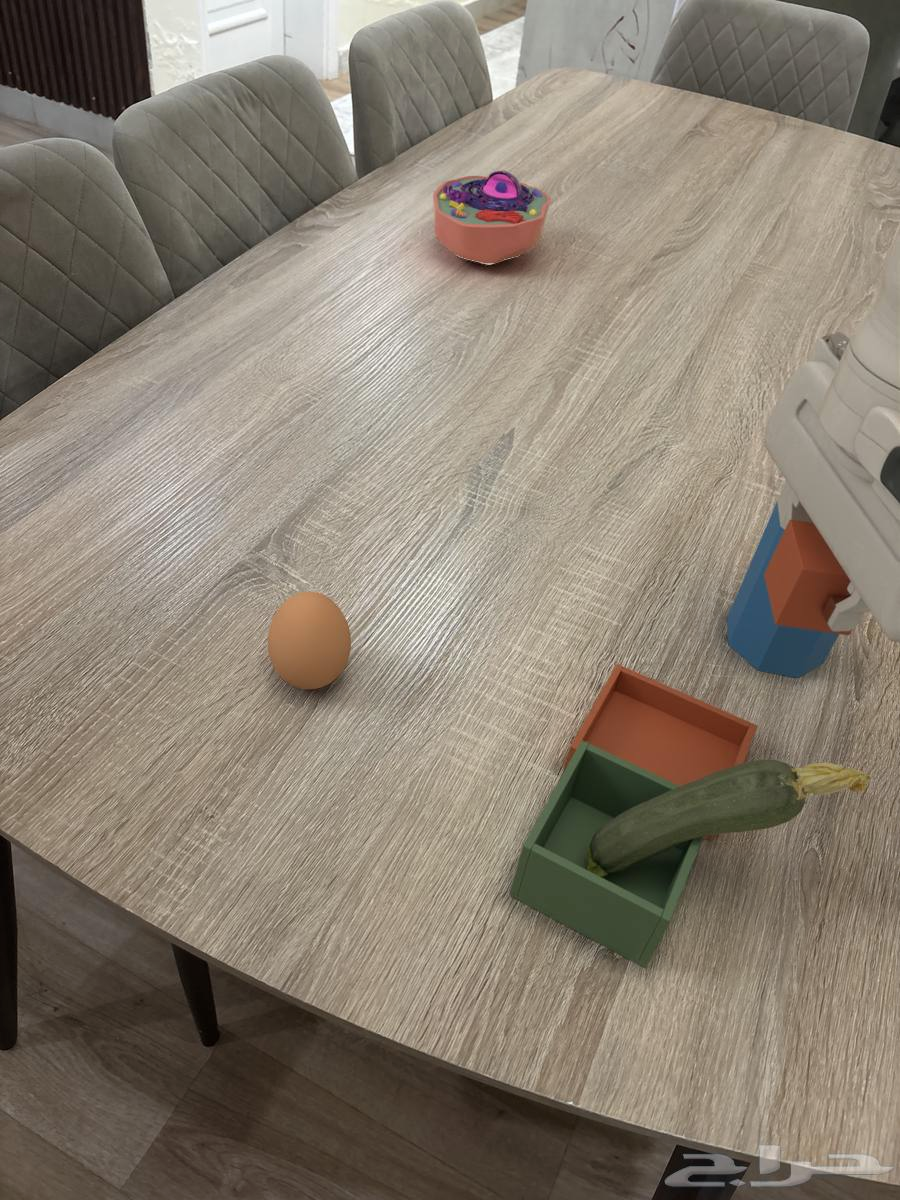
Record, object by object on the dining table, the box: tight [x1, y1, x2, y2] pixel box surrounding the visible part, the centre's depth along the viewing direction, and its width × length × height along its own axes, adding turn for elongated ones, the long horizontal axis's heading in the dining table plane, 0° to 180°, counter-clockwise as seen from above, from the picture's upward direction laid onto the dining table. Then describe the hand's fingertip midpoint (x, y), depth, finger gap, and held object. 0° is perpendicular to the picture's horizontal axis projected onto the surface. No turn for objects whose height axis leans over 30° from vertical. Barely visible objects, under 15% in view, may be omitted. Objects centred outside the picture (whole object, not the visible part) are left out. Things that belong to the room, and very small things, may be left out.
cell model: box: [432, 170, 552, 267], centre depth 137 cm, size 17×20×11 cm
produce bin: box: [508, 740, 705, 969], centre depth 65 cm, size 10×10×6 cm
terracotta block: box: [764, 520, 853, 636], centre depth 62 cm, size 5×5×5 cm
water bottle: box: [726, 480, 840, 679], centre depth 78 cm, size 9×9×25 cm
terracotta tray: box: [563, 663, 758, 841], centre depth 75 cm, size 12×10×3 cm
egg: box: [267, 591, 352, 690], centre depth 75 cm, size 7×7×9 cm
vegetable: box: [586, 758, 871, 877], centre depth 62 cm, size 4×4×20 cm
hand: (814, 587), depth 62 cm, fingers closed on terracotta block, 5 cm apart
